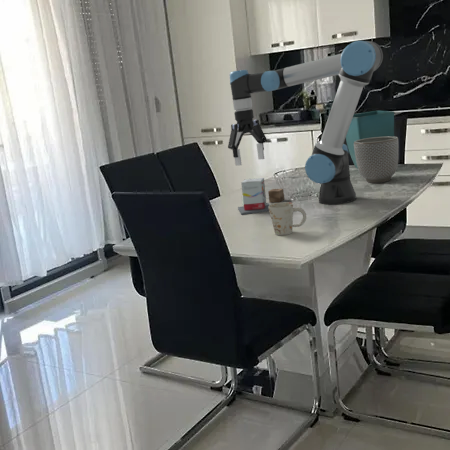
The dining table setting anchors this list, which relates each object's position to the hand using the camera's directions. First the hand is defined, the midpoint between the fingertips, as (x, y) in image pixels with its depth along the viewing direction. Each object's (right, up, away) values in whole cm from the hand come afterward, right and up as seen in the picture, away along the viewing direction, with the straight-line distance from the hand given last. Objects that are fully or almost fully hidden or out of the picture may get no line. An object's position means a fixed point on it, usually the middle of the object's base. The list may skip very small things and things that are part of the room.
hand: (250, 162), depth 256 cm
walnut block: (+12, -15, +17) cm, 26 cm away
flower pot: (+65, +3, +67) cm, 93 cm away
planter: (+60, -6, +32) cm, 69 cm away
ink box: (+2, -19, +5) cm, 19 cm away
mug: (+12, -28, -39) cm, 50 cm away
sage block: (+1, -17, +16) cm, 23 cm away
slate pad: (+2, -19, +5) cm, 20 cm away
